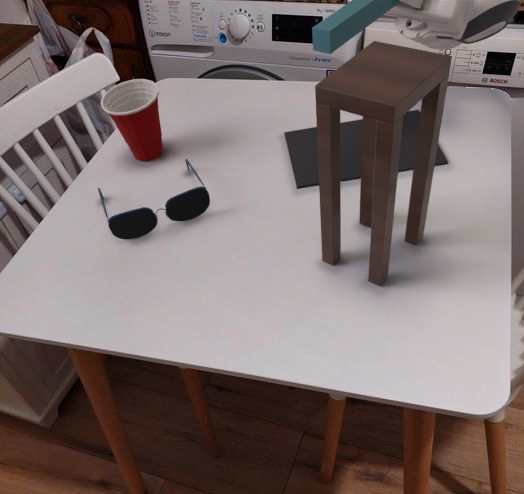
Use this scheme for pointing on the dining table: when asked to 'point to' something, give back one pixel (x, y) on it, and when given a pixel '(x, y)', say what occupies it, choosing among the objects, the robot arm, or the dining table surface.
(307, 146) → the mat
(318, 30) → the rail
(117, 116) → the plastic cup
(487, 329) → the dining table surface
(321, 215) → the stand
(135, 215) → the sunglasses
